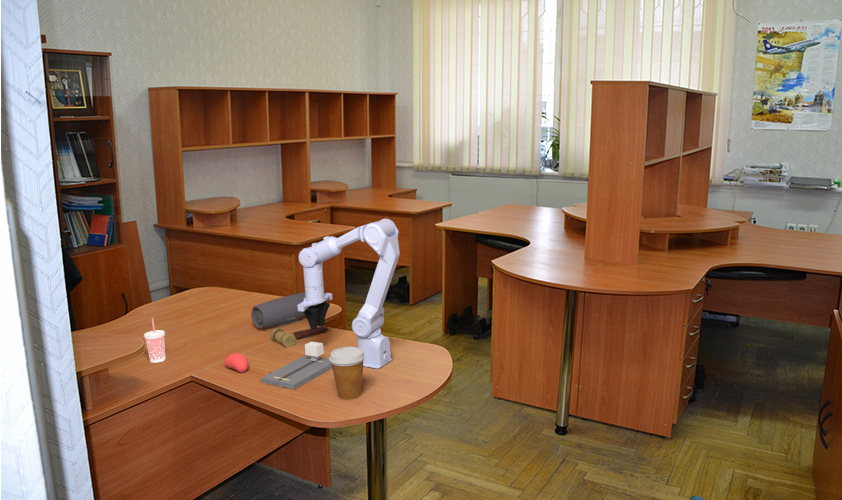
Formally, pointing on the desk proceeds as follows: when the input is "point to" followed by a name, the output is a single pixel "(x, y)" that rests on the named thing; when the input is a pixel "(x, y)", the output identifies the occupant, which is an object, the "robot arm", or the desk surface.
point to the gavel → (294, 335)
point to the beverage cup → (155, 344)
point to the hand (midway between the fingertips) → (317, 327)
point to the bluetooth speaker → (278, 311)
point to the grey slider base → (297, 372)
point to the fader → (314, 350)
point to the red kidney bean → (237, 362)
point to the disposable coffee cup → (348, 371)
